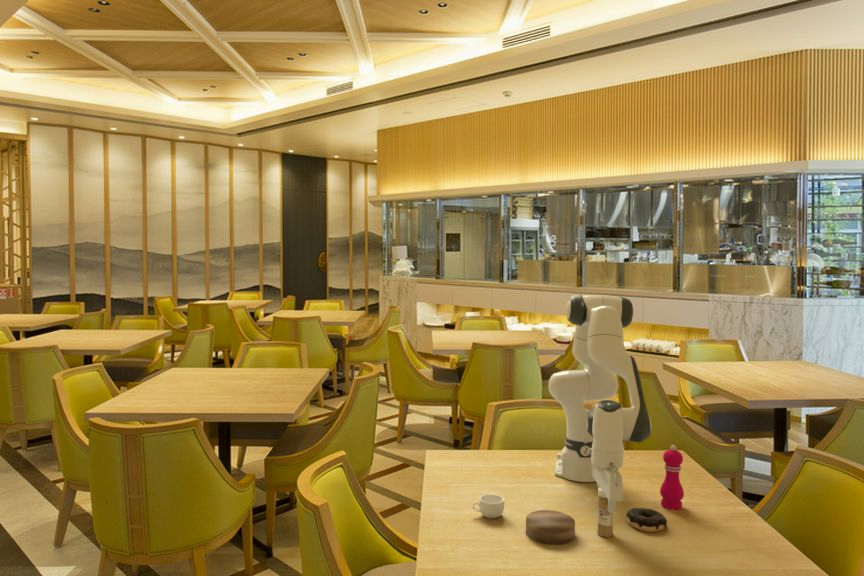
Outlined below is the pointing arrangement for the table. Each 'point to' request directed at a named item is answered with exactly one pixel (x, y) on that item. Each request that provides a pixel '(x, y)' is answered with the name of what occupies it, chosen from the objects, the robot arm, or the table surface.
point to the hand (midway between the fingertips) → (606, 505)
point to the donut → (646, 519)
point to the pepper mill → (672, 480)
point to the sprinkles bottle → (604, 516)
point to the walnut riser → (550, 527)
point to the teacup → (490, 505)
